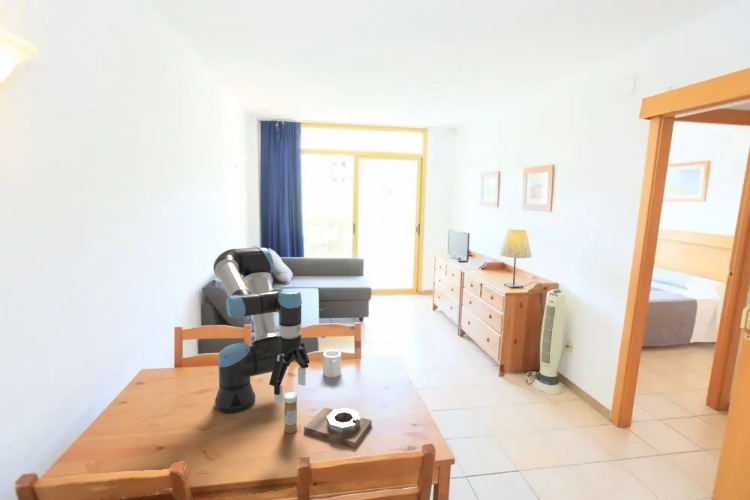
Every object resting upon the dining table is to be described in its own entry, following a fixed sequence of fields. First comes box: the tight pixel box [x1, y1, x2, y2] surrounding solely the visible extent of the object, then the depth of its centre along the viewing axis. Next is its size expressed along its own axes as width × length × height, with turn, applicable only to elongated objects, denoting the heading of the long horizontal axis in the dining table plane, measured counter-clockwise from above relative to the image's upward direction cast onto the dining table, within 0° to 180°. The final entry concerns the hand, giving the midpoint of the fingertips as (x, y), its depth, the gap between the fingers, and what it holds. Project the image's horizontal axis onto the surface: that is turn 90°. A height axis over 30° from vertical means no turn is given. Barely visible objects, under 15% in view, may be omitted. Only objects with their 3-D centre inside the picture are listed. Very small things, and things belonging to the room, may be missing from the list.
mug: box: [322, 349, 342, 379], centre depth 178 cm, size 12×9×10 cm
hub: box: [327, 407, 361, 435], centre depth 137 cm, size 11×11×4 cm
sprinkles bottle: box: [283, 391, 298, 434], centre depth 136 cm, size 5×5×13 cm
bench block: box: [303, 407, 373, 449], centre depth 139 cm, size 20×14×2 cm
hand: (290, 393), depth 135 cm, fingers open, 13 cm apart
